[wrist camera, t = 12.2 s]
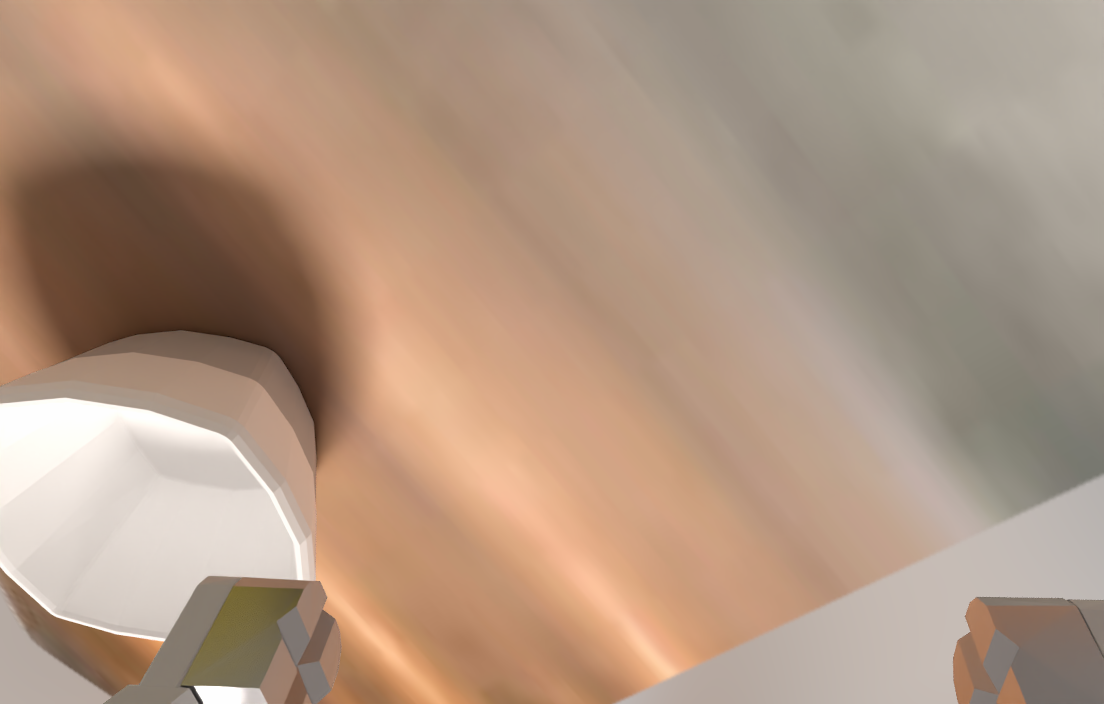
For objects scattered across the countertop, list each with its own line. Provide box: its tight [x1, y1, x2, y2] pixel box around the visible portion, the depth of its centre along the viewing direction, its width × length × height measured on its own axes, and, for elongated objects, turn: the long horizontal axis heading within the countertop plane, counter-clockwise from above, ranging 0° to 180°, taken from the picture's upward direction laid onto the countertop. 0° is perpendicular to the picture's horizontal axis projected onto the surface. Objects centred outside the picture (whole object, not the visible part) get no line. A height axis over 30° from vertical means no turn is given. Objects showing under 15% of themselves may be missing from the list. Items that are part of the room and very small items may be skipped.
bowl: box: [0, 330, 316, 641], centre depth 43 cm, size 18×18×9 cm
